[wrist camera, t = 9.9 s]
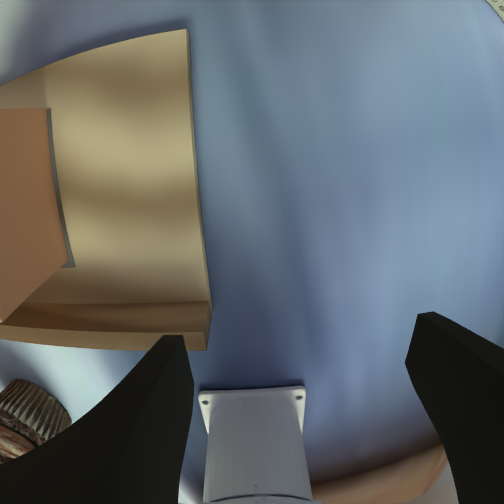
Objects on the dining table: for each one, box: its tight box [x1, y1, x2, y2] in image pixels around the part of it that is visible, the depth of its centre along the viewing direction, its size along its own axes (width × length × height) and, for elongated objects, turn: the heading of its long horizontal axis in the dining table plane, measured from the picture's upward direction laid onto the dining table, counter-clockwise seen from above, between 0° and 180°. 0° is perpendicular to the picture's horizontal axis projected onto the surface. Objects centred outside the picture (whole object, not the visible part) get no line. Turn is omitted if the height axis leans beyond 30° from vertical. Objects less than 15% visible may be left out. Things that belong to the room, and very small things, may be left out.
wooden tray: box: [0, 29, 213, 351], centre depth 14 cm, size 16×18×4 cm
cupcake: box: [0, 379, 72, 464], centre depth 19 cm, size 10×10×10 cm
